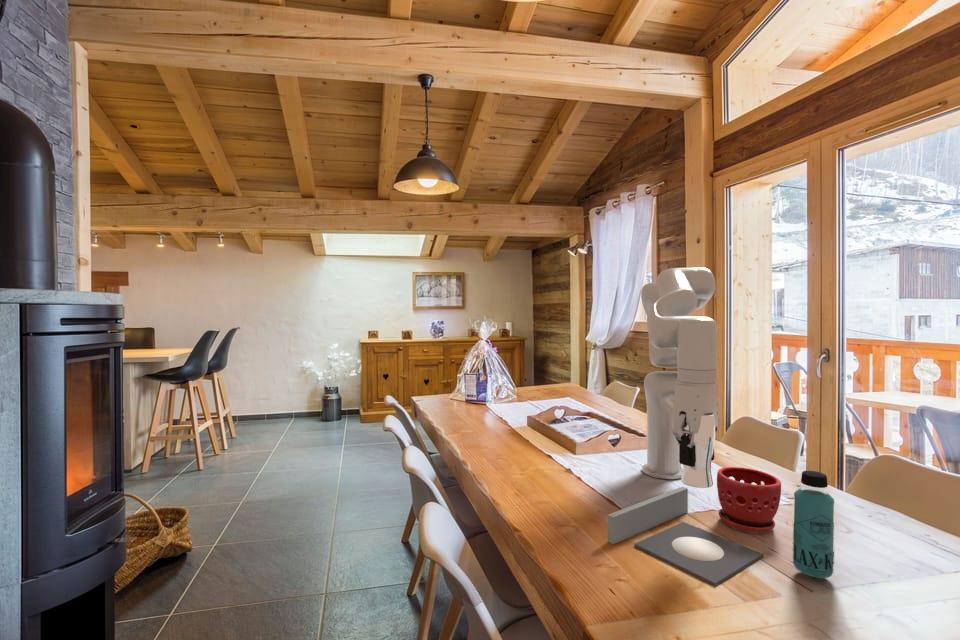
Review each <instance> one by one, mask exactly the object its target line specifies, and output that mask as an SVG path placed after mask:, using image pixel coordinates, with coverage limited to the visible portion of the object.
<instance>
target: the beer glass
mask: <svg viewBox="0 0 960 640" xmlns="http://www.w3.org/2000/svg"><path fill="white" fill-rule="evenodd" d="M683 430H686V431H689V430H690V427H688V425H687V422H686V424H685V426H684V428H683ZM684 435H685V436H686V437H687V438H688V440H689V436H690V435H689V434H685V433H684ZM715 436H716V434H715V419H714V413H712V414H711V415H702V417H701V423H700V427H699V432H698V433H696V434H694V443H693V447H695V466H694V467H690V466H687V465H683V464H682V468H683V472H682V477H681V478H680V481H681V482H682V484H683V485H686V486H688V487H692V488H698V489H706V488H707V489H708V488H711V487H712V486H713V485H714V483H713V476H712V470H711V469H712V461H713V460H712V455H713V450H714V451H715V443H716V439H715Z"/></svg>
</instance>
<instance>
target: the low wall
mask: <svg viewBox="0 0 960 640" xmlns="http://www.w3.org/2000/svg"><path fill="white" fill-rule="evenodd" d="M688 491H689V490H688V488H687V487H684V486H680V487H678V488H675V489H672V490H670V491H667V492H664V493H662V494H659V495H657V496H654V497H651V498H648V499H646V500H644V501H640V502H638V503H635V504H633V505H630V506H628V507H625V508H622V509H620V510H617V511H614V512H612V513H609V514H607V542H608V543H609V544H612V545H615V544H618V543H619V542H622V541H624V540H627V539H629V538H631V537H633V536H636V535H639V534H640V533H643V532H645V531H648V530H649V529H651V528H654V527H656V526H659V525H661V524H664V523H666V522H668V521H671V520H673V519H675V518H677V517H680V516H682V515H685V514H686V513H689V509H688V508H689V506H688V505H689V501H688V500H689V497H688V496H689V493H688Z"/></svg>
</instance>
